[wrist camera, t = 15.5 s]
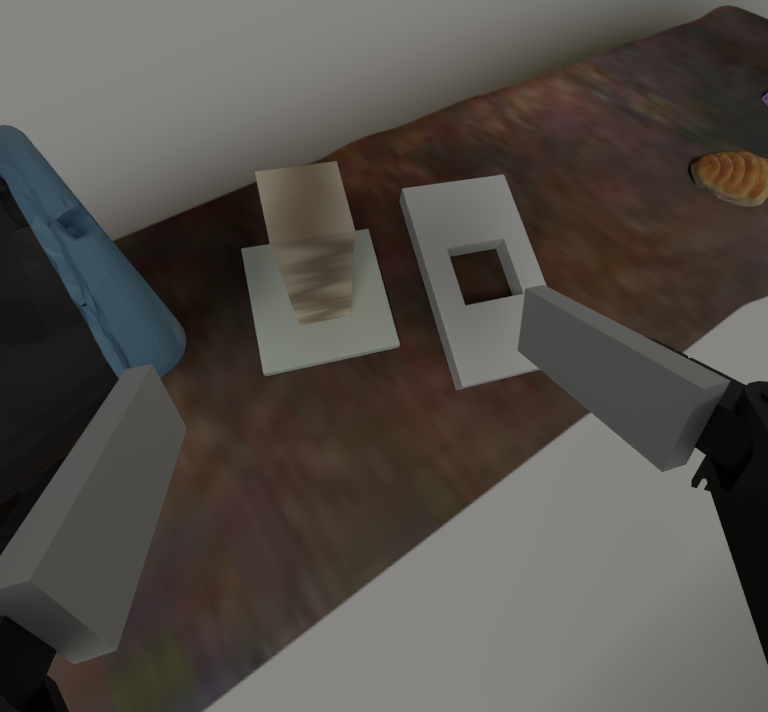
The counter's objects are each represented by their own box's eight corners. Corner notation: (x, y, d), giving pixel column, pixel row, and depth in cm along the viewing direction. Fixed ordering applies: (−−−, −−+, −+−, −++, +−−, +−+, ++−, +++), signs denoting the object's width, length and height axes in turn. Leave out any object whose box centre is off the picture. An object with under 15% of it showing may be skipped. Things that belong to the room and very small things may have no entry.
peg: (299, 325, 34) (269, 244, 20) (289, 278, 35) (254, 171, 21) (350, 315, 34) (355, 230, 21) (338, 269, 35) (336, 161, 22)
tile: (265, 376, 33) (263, 373, 32) (243, 253, 36) (241, 248, 35) (398, 347, 35) (399, 344, 34) (367, 234, 38) (368, 228, 37)
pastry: (687, 196, 45) (717, 173, 41) (683, 155, 47) (712, 129, 43) (753, 212, 45) (790, 191, 42) (747, 171, 47) (781, 147, 44)
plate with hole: (456, 390, 35) (462, 386, 33) (399, 201, 39) (402, 188, 38) (562, 364, 37) (574, 359, 35) (496, 187, 41) (503, 174, 40)
